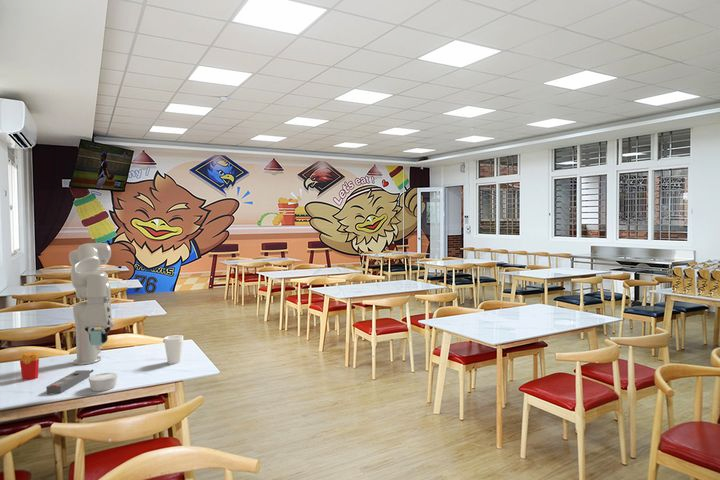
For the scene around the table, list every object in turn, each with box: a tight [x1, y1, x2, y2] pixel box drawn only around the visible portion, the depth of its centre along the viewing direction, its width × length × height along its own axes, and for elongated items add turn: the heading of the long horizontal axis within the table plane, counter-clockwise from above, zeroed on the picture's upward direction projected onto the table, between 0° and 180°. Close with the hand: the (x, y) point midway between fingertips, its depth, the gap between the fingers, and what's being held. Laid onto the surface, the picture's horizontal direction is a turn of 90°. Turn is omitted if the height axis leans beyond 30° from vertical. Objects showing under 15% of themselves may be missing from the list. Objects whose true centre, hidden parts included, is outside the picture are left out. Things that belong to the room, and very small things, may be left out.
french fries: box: [19, 351, 40, 381], centre depth 222 cm, size 8×4×12 cm, turn 86°
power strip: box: [45, 369, 95, 395], centre depth 217 cm, size 30×6×4 cm, turn 1°
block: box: [90, 328, 107, 350], centre depth 208 cm, size 4×4×8 cm
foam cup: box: [163, 334, 184, 365], centre depth 245 cm, size 10×9×13 cm
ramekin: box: [88, 372, 118, 392], centre depth 208 cm, size 11×11×5 cm
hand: (98, 341), depth 208 cm, fingers closed on block, 4 cm apart
